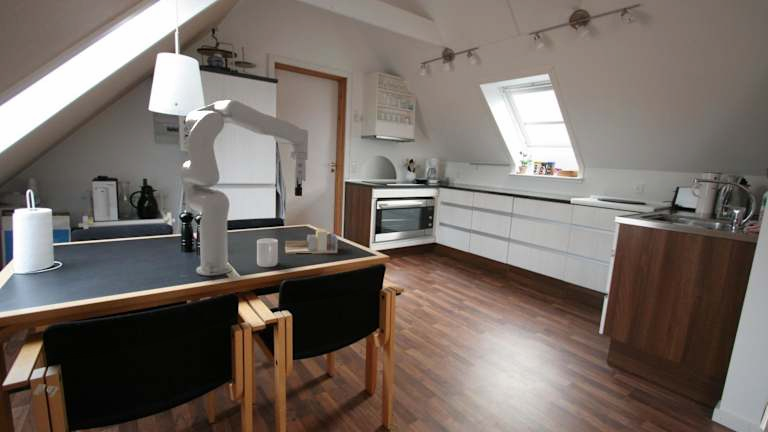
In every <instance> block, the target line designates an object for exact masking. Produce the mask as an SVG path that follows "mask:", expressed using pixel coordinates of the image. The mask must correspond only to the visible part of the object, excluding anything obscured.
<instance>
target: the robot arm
mask: <svg viewBox="0 0 768 432" xmlns="http://www.w3.org/2000/svg"><path fill="white" fill-rule="evenodd" d="M184 121H185V127H186V129H187V130H188V132H189V134H188V137H187V142H186V146H187V147H186V149H187V154H188V159H189V160H187V161H185V162H184V163H183V164H182V166H181V167H180V180H181V184H182V187H183V190H184V194H185V199H186V202H187V204H188V205H189V208H191V209H192V210H193V211H196V212H198V213H202V214H201V217H200V220H199V221H200V222H199V248H200V249H199V250H200V253H199V254H200V266H198V267H196V271H195V272H196V273H197V274H198V275H201V276H220V275H224V274H228V273H230V272H232V270H233V266H232V265H231V264H229V263H228V261H229V260H228V257H229V256H228V254H229V253H228V216H229V215H228V214H229V211H230V210H229V209H230V199H229V197H228V196H227V194H226V193H224V192H223V191H221V190H218V189H214V188H211V187H215V186H217V184H218V183H219V181H220V172H219V168H218V163H217V159H216V155H215V149H214V145H215V141H216V139H217V137H218V136H219V134H220V133H221V132H222V131H223V129H224V126H225V124H233V125H236V126H239V127H241V128H243V129H245V130H248V131H250V132H252V133H255V134H259V135H261V136H262V135H263V136H270V137H271V136H272V137H273V139H274V141H275V142H276V143H278V144H282V145H290V159H291V160H292V161H293V163H292V164H293V167H292V168H293V171H292V172H293V180H294V181H295V183H294V185H295V186H294V196H295V197H302V196H303V182H306V180H307V179H306V177H307V176H306V175H307V174H306V171H307V167H306V166H307V165H306V161H308V158H309V157H308V153H309V131H308V130H307V129H305V128H300V127H299V126H297V125H295V124H293V123H291V122H289V121H288V120H287V121H286V120H284V119H280V118H277V117H274V116H272V115H270V114H266V113H264V112H261V111H259V110H257V109H256V108H252V107H251V106H249V105H247V104H244V103H242V102H240V101H237V100H233V99H230V100H229V99H227V100H219V101H216V102H214V103H211V104H209V105H206V106H204V107H201V108H198V109H195V110H193V111H191V112H189V113H188V115H187V116H186V118H185V120H184Z"/></svg>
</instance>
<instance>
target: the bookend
mask: <svg viewBox="0 0 768 432" xmlns="http://www.w3.org/2000/svg"><path fill="white" fill-rule="evenodd" d="M306 241H307V247H308V250H317V236H316V234H307V237H306Z"/></svg>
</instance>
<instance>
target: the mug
mask: <svg viewBox="0 0 768 432" xmlns="http://www.w3.org/2000/svg"><path fill="white" fill-rule="evenodd" d="M278 244H279V241H278V239H276V238H267V237H266V238H265V237H264V238H260V239H257V240H256V264H257V266H259V267H261V268H270V267H271V268H272V267H275V266H277V265H278V261H279V260H278V258H279V257H278V256H279V255H278V253H279V251H278V249H279V248H278V246H279V245H278Z"/></svg>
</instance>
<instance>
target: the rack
mask: <svg viewBox="0 0 768 432" xmlns="http://www.w3.org/2000/svg"><path fill="white" fill-rule="evenodd" d="M338 240H339V239H338V237H337V235H336V234H335V233H333V232H327V251H317V250H308V247H307V240H286V241H284V242H285V243H284V244H285V245H284V250H285V255H297V254H296V253H312V254H337V253H338V244H339V243H338V242H339V241H338Z"/></svg>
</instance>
